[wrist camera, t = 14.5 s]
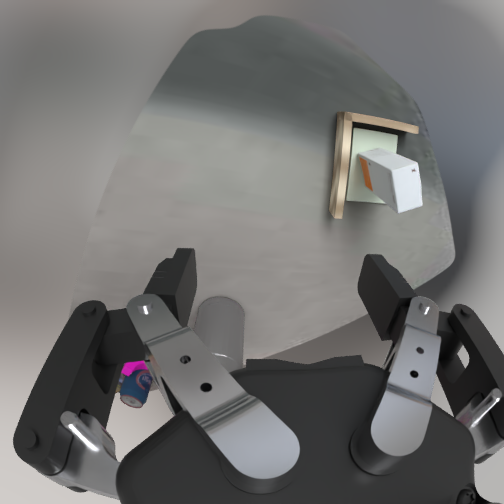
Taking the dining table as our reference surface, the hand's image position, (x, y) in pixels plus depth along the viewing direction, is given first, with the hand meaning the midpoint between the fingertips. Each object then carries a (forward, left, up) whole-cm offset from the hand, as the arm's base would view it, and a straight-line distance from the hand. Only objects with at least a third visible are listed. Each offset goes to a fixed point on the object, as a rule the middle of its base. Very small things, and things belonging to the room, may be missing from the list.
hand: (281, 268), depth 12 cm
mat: (0, -18, -31) cm, 36 cm away
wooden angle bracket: (0, -18, -31) cm, 36 cm away
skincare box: (0, -18, -31) cm, 35 cm away
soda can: (-50, +29, -31) cm, 66 cm away
